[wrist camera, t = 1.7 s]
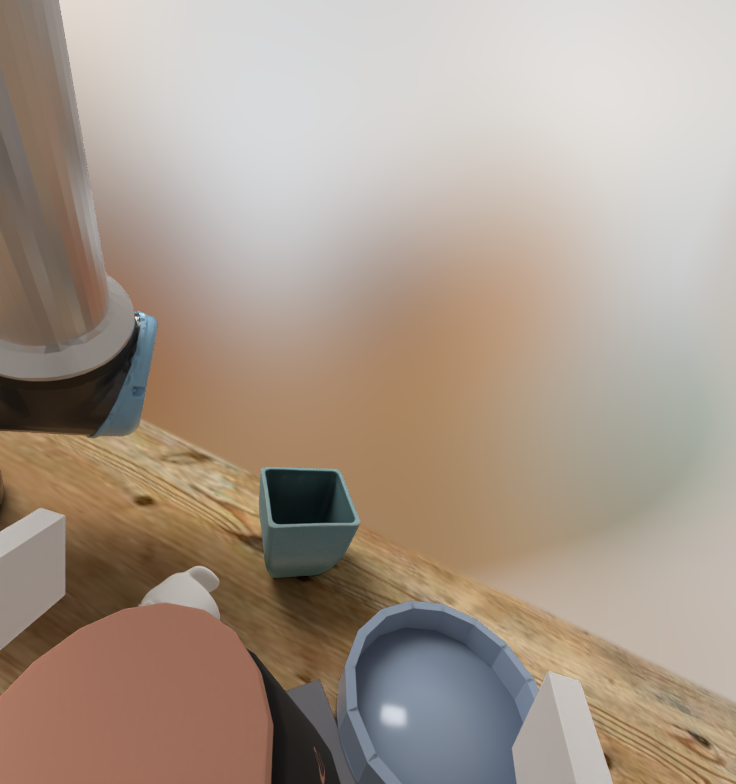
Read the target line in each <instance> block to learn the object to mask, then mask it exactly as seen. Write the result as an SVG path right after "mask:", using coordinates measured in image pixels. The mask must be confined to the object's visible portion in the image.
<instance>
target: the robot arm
mask: <svg viewBox="0 0 736 784" xmlns="http://www.w3.org/2000/svg"><path fill="white" fill-rule="evenodd" d="M157 328H158V323H157V320H156V319H155V318H154V317H152V316H150V315H146V314H144V313H143V312H140V311H134V309H133V305H132V302H131V300H130V298H129V296H128V295H127V293H126V292H125V290H124V289H123V288H122V287H121V286H120V284H118V283H117V282H116V281H115V280H114V279H113V278H111V277H110V276H108V275H107V274H106V271H105V265H104V259H103V254H102V248H101V242H100V236H99V231H98V226H97V219H96V213H95V208H94V202H93V196H92V191H91V185H90V180H89V173H88V167H87V161H86V156H85V150H84V144H83V139H82V132H81V127H80V121H79V115H78V109H77V104H76V98H75V92H74V86H73V81H72V75H71V69H70V63H69V57H68V51H67V46H66V40H65V34H64V28H63V22H62V16H61V11H60V5H59V0H0V431H14V432H32V433H49V434H67V435H85V436H87V437H89V438H96V437H99V436H125V435H129V434H131V433H132V432H134V431H135V430H136V429H137V427H138V426H139V423H140V419H141V413H142V408H143V402H144V397H145V392H146V386H147V381H148V376H149V371H150V366H151V360H152V354H153V350H154V344H155V338H156V333H157ZM3 497H4V490H3V481H2V474H1V471H0V505H1V503H2V501H3ZM64 595H65V515H62V514H59V513H56V512H53V511H49V510H46V509H43V508H39V509H37V510H36V511H34V512H32V513H31V514H29V515H27V516H26V517H24V518H22V519H20V520H19V521H17V522H15V523H14V524H12V525H10V526H9V527H7V528H5V529H3V530H2V531H0V650H1V649H2V648H4V647H5V646H6V645H7V644H8V643H9V642H11V641H12V640H13V639H14V638H15V637H16V636H18V635H19V634H20V633H21V632H22V631H24V630H25V629H26V628H27V627H28V626H29V625H31V624H32V623H33V622H34V621H35V620H36V619H38V618H39V617H40V616H41V615H42V614H43V613H45V612H46V611H47V610H48V609H49V608H50V607H52V606H53V605H54V604H55V603H56V602H57V601H59V600H60V599H61V598H62V597H63V596H64ZM512 753H513V760H514V767H515V775H516V782H517V784H613V782H612V779H611V776H610V772H609V769H608V766H607V763H606V760H605V757H604V754H603V751H602V748H601V745H600V742H599V738H598V735H597V732H596V729H595V726H594V723H593V720H592V717H591V714H590V711H589V707H588V704H587V701H586V698H585V695H584V692H583V689H582V686H581V683H580V681H578V680H575V679H572V678H569V677H566V676H562V675H559V674H556V673H553V672H550V671H548V672H547V674H546V676H545V678H544V680H543V683H542V685H541V687H540V689H539V691H538V693H537V695H536V697H535V700H534V702H533V704H532V706H531V708H530V710H529V712H528V715H527V717H526V719H525V721H524V723H523V725H522V727H521V729H520V732H519V734H518V736H517V738H516V740H515V742H514V744H513V747H512Z"/></svg>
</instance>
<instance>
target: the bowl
mask: <svg viewBox="0 0 736 784" xmlns="http://www.w3.org/2000/svg"><path fill="white" fill-rule="evenodd" d="M538 691H539V689H538V687H537V685H536V682H535V680H534V678H533V677H532V676H531V674H530V673H529V672H528V670H527V669H526V668H525V667H524V665H523V664H522V663H521V661H520V660H519V659H518V657H517V656H516V655H515V653H514V652H513V651H512V649H511V648H510V647H509V646H508V644H507V643H505V642H504V641H503V640H502V639H500V638H499V637H498V636H497V635H495V634H494V633H493V632H492V631H491V630H489V629H488V628H487V627H486V626H484V625H483V624H482V623H481V622H479V621H478V620H477V619H475V618H473V617H471V616H469V615H466V614H464V613H462V612H460V611H457V610H455V609H453V608H451V607H448V606H446V605H444V604H437V603H428V602H418V601H408V602H404V603H401V604H397V605H394V606H391V607H387V608H384V609H381V610H380V611H379V612H378V613H377V614H376V615H375V616H373V617H372V618H371V619H370V620H369V621H368V622H367V623H366V624H365V625H364V626H363V627H362V628H360V629H359V630H358V632H357V635H356V638H355V640H354V643H353V646H352V648H351V651H350V654H349V656H348V659H347V661H346V664H345V667H344V670H343V672H342V675H341V678H340V681H339V684H338V694H337V700H336V722H337V727H338V733H339V738H340V743H341V747H342V750H343V754H344V757H345V760H346V763H347V765H348V768H349V770H350V772H351V775H352V777H353V779H354V781H355V783H356V784H517V782H516V775H515V767H514V760H513V753H512V747H513V744H514V742H515V740H516V738H517V736H518V734H519V732H520V729H521V727H522V725H523V723H524V721H525V719H526V717H527V715H528V712H529V710H530V708H531V706H532V704H533V702H534V700H535V697H536V695H537V693H538Z"/></svg>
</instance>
